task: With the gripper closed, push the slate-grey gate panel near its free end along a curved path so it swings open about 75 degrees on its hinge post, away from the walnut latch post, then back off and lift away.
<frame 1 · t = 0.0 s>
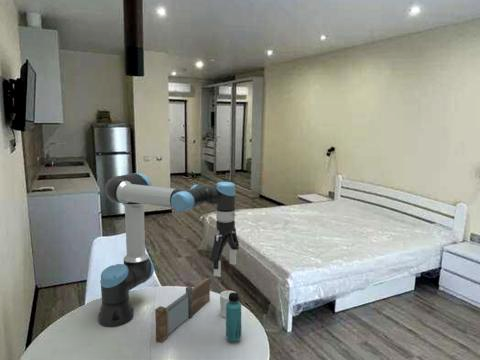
hand: (225, 269, 142), 28 cm above the table, tool pointing down, fingers open, 13 cm apart
gate frame: (176, 327, 148), on the table
gate panel: (176, 313, 147), point 7 cm above the table, hinge at 0.0°
beverage bottle: (233, 340, 141), on the table
white cup: (228, 314, 160), on the table
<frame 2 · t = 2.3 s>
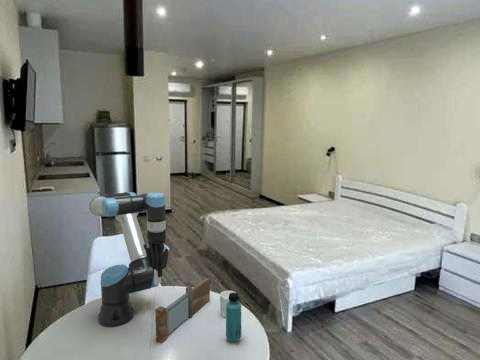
hand: (157, 283, 146), 20 cm above the table, tool pointing down, fingers closed
nothing on the table moved.
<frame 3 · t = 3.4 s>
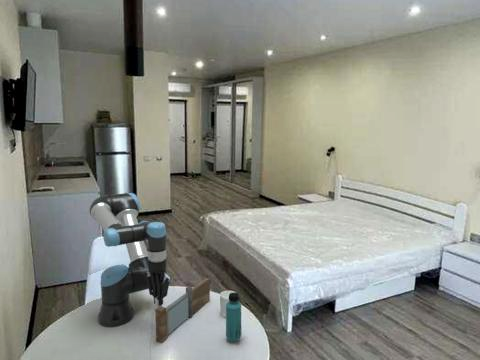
hand: (158, 311, 147), 8 cm above the table, tool pointing down, fingers closed
nothing on the table moved.
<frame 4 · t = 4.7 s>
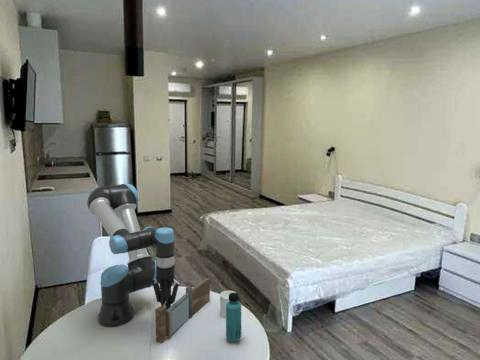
hand: (166, 317, 146), 6 cm above the table, tool pointing down, fingers closed
gate panel: (177, 313, 147), point 7 cm above the table, hinge at 4.9°, touching gripper
everything else where it was.
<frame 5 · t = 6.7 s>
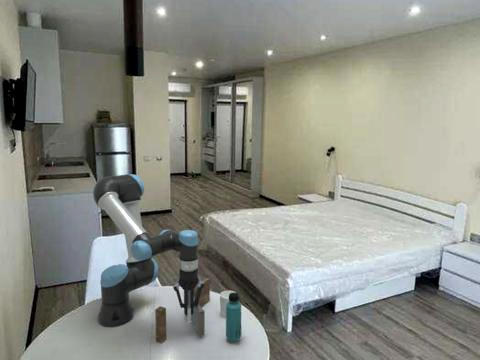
hand: (188, 321, 143), 6 cm above the table, tool pointing down, fingers closed
gate panel: (195, 313, 147), point 7 cm above the table, hinge at 51.4°, touching gripper
everything else where it was.
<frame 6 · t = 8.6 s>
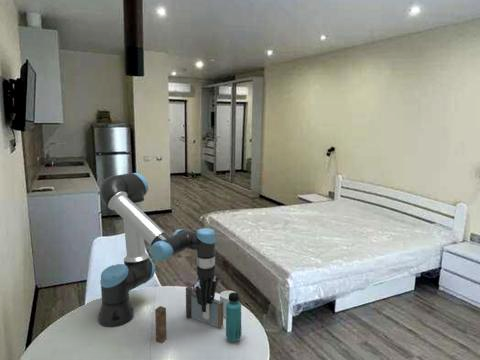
hand: (206, 317, 147), 5 cm above the table, tool pointing down, fingers closed
gate panel: (206, 309, 151), point 7 cm above the table, hinge at 85.5°, touching gripper
everything else where it was.
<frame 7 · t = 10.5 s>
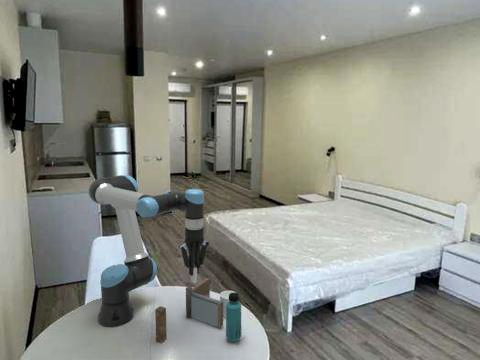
hand: (193, 281, 143), 23 cm above the table, tool pointing down, fingers closed
gate panel: (206, 309, 151), point 7 cm above the table, hinge at 85.5°
everything else where it was.
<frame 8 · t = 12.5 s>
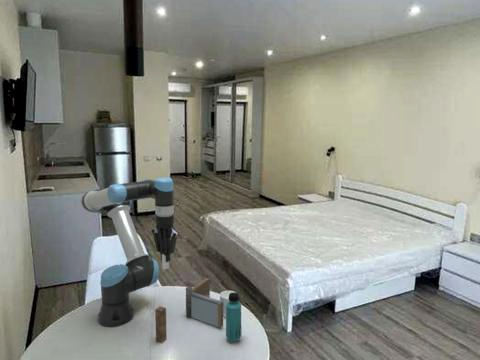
hand: (165, 268, 146), 26 cm above the table, tool pointing down, fingers closed
nothing on the table moved.
at the end: gate panel at +86° (first picture: +0°); white cup moved 0.2 cm from its start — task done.
